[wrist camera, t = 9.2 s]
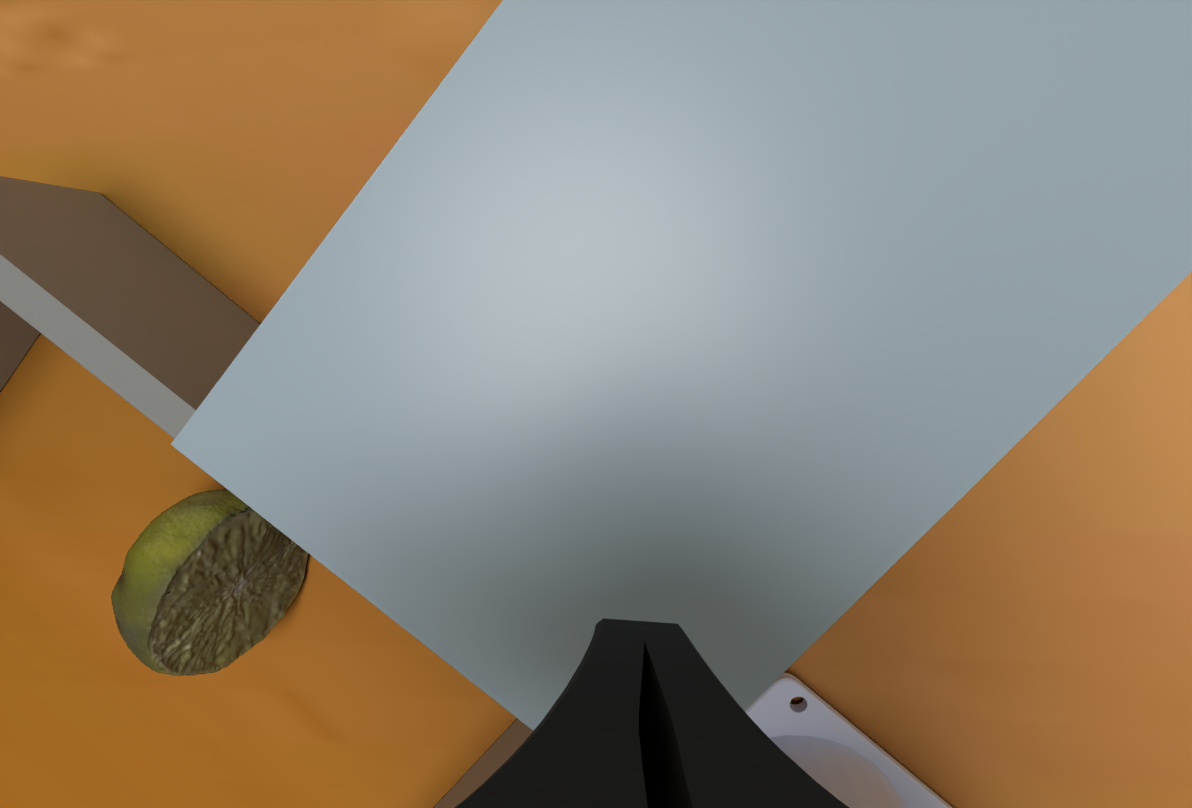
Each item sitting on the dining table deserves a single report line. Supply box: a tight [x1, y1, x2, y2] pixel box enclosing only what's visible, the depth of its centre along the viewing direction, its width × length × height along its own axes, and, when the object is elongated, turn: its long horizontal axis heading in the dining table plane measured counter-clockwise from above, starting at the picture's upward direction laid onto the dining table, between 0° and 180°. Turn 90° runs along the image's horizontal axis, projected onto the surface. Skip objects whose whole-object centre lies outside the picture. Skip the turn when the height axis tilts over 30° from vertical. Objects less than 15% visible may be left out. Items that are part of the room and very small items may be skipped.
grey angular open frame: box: [0, 176, 533, 808], centre depth 18 cm, size 20×11×6 cm, turn 49°
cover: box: [171, 0, 1192, 731], centre depth 12 cm, size 21×13×1 cm, turn 139°
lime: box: [111, 490, 308, 676], centre depth 19 cm, size 4×5×5 cm
